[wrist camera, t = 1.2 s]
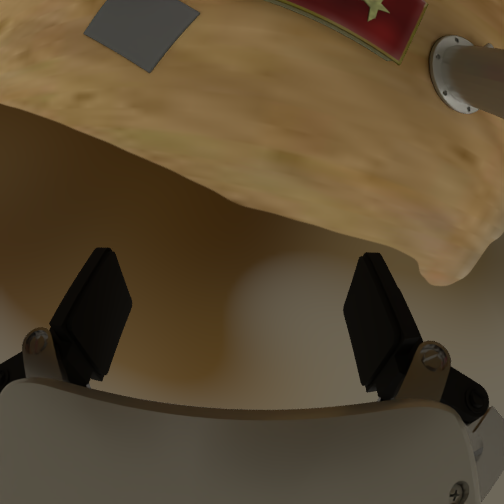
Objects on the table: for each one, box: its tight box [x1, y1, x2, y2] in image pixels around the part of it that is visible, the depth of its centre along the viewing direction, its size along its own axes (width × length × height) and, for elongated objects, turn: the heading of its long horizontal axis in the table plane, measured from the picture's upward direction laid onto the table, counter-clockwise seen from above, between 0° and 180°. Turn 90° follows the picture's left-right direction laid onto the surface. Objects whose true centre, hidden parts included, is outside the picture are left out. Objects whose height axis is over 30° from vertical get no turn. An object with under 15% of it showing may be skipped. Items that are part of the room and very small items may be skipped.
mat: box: [83, 0, 200, 73], centre depth 23 cm, size 10×13×1 cm
